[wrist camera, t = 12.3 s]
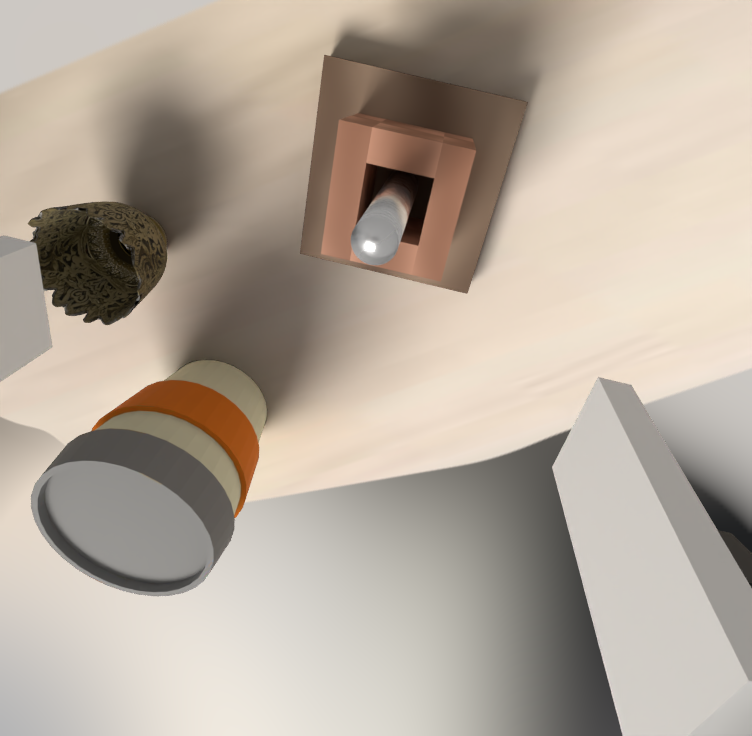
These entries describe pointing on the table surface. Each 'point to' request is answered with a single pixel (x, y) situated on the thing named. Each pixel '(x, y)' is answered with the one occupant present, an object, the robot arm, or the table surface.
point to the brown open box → (405, 153)
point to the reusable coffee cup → (156, 482)
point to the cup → (99, 258)
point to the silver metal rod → (385, 220)
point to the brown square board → (428, 110)
